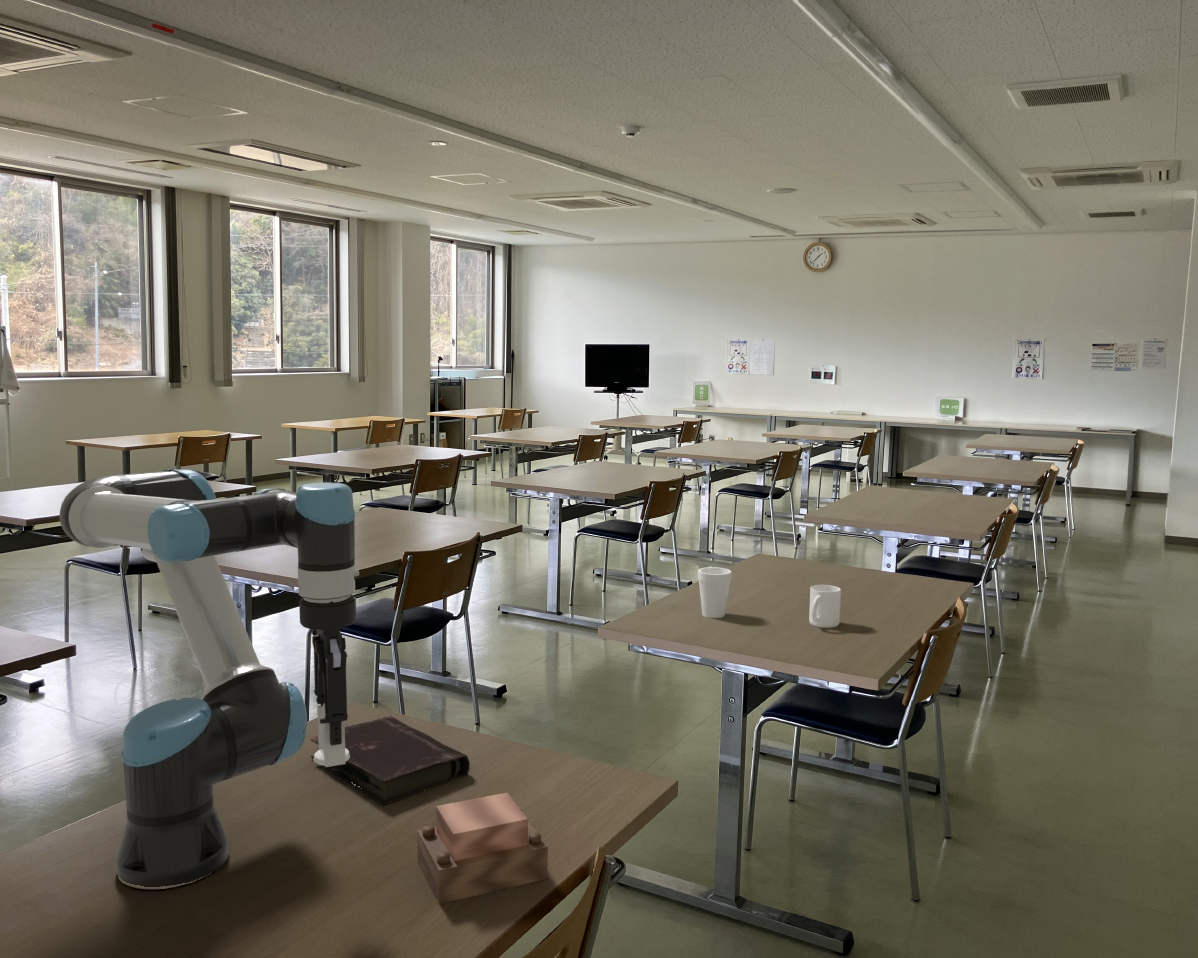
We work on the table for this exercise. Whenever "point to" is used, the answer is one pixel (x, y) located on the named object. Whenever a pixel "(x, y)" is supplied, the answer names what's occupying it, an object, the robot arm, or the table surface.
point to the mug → (824, 606)
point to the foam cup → (714, 590)
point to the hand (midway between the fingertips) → (331, 756)
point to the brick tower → (480, 849)
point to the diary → (395, 760)
